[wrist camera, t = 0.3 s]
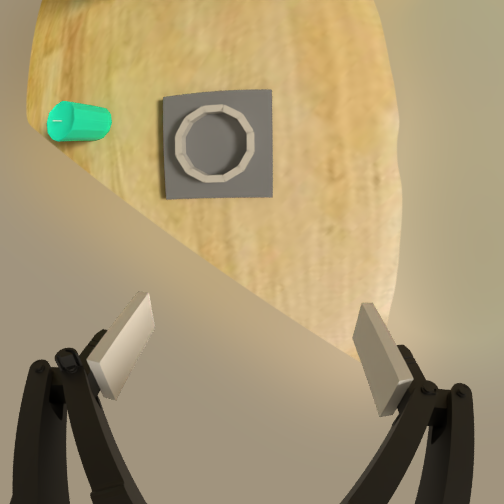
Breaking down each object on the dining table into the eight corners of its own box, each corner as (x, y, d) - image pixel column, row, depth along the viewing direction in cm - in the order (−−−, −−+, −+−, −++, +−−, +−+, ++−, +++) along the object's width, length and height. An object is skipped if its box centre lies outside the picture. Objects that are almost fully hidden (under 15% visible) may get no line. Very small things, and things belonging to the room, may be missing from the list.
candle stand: (166, 98, 36) (158, 94, 33) (271, 91, 36) (272, 86, 32) (169, 197, 42) (161, 201, 39) (272, 195, 41) (272, 199, 38)
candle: (116, 128, 38) (73, 125, 27) (90, 146, 39) (45, 150, 28) (105, 100, 36) (62, 91, 25) (80, 119, 37) (36, 116, 26)
